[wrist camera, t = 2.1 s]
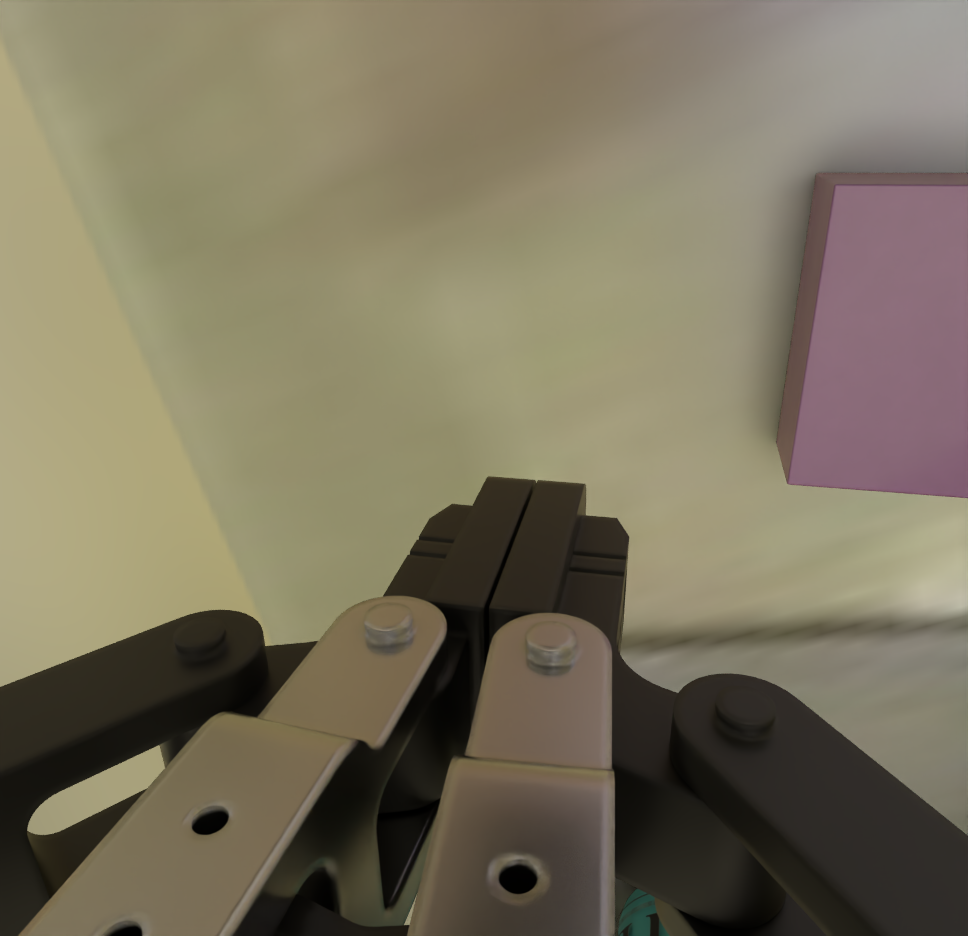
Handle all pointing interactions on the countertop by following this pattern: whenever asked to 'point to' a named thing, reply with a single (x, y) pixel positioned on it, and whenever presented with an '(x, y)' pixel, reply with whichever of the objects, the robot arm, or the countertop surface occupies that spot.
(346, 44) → the countertop surface
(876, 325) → the plum block
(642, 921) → the beverage bottle
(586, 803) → the robot arm
